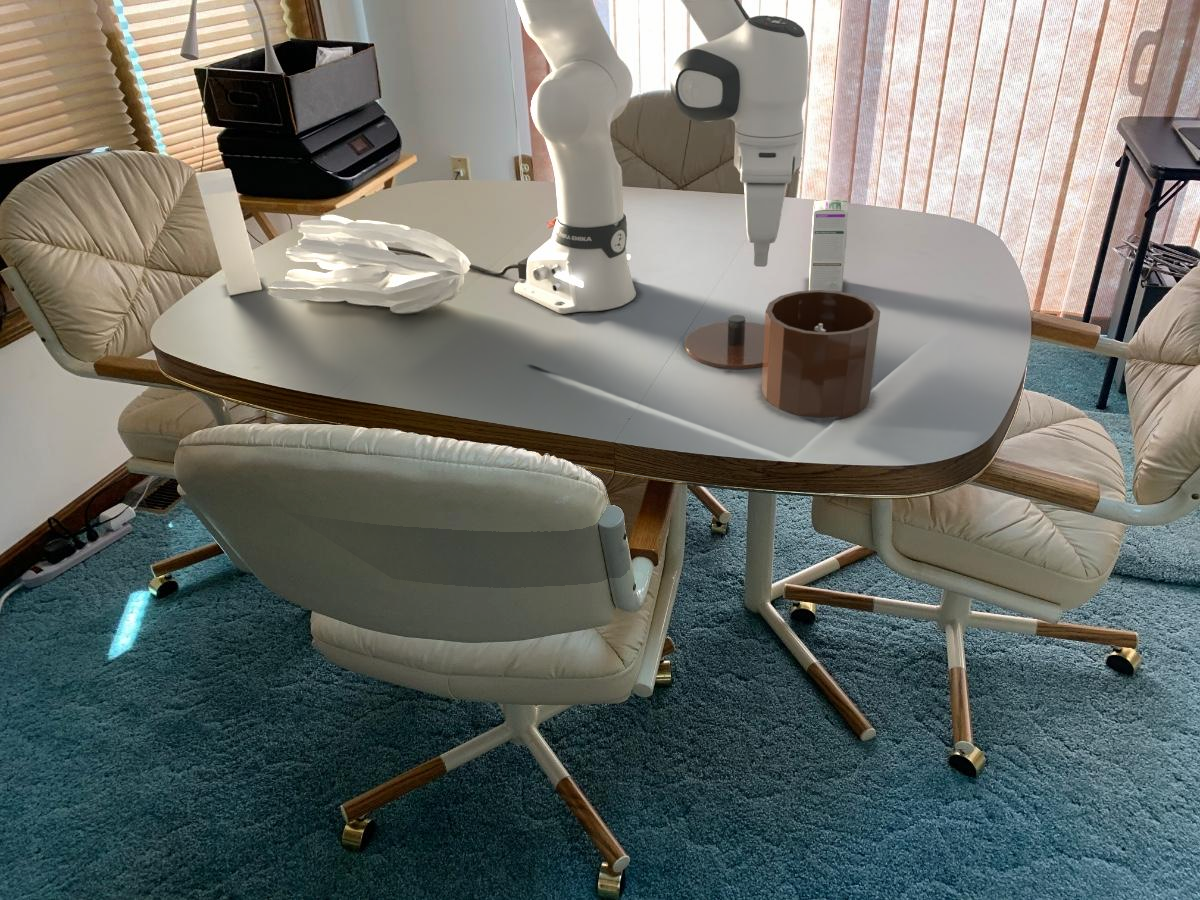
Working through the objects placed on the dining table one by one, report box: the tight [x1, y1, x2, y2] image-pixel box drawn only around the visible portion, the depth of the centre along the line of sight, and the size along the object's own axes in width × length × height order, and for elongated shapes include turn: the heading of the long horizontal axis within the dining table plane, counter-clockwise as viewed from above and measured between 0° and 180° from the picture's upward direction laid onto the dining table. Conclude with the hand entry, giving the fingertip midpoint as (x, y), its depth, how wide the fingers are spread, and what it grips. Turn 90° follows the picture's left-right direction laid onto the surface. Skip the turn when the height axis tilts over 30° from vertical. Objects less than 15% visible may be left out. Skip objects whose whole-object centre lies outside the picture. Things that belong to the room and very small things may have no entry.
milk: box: [195, 168, 263, 296], centre depth 168 cm, size 6×6×22 cm
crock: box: [761, 290, 881, 421], centre depth 124 cm, size 15×15×13 cm
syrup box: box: [808, 199, 849, 292], centre depth 156 cm, size 6×6×14 cm
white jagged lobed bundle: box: [267, 214, 471, 315], centre depth 159 cm, size 17×18×35 cm
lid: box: [684, 314, 765, 370], centre depth 139 cm, size 16×16×5 cm
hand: (761, 252), depth 128 cm, fingers open, 8 cm apart
